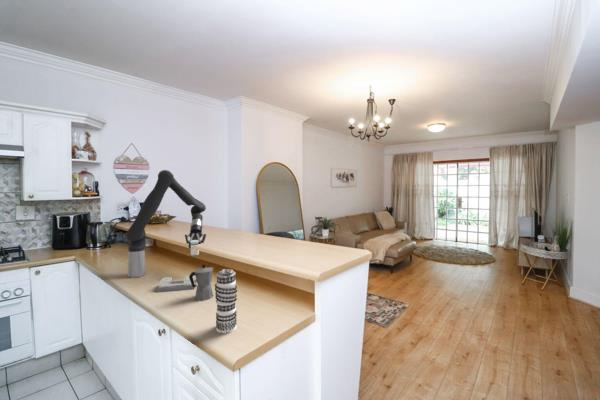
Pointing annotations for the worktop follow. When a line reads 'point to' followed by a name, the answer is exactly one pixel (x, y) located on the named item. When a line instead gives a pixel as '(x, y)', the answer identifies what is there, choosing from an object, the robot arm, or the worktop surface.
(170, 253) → the worktop surface
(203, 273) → the coffeepot
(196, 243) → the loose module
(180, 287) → the rail panel
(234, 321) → the black and white cylinder
